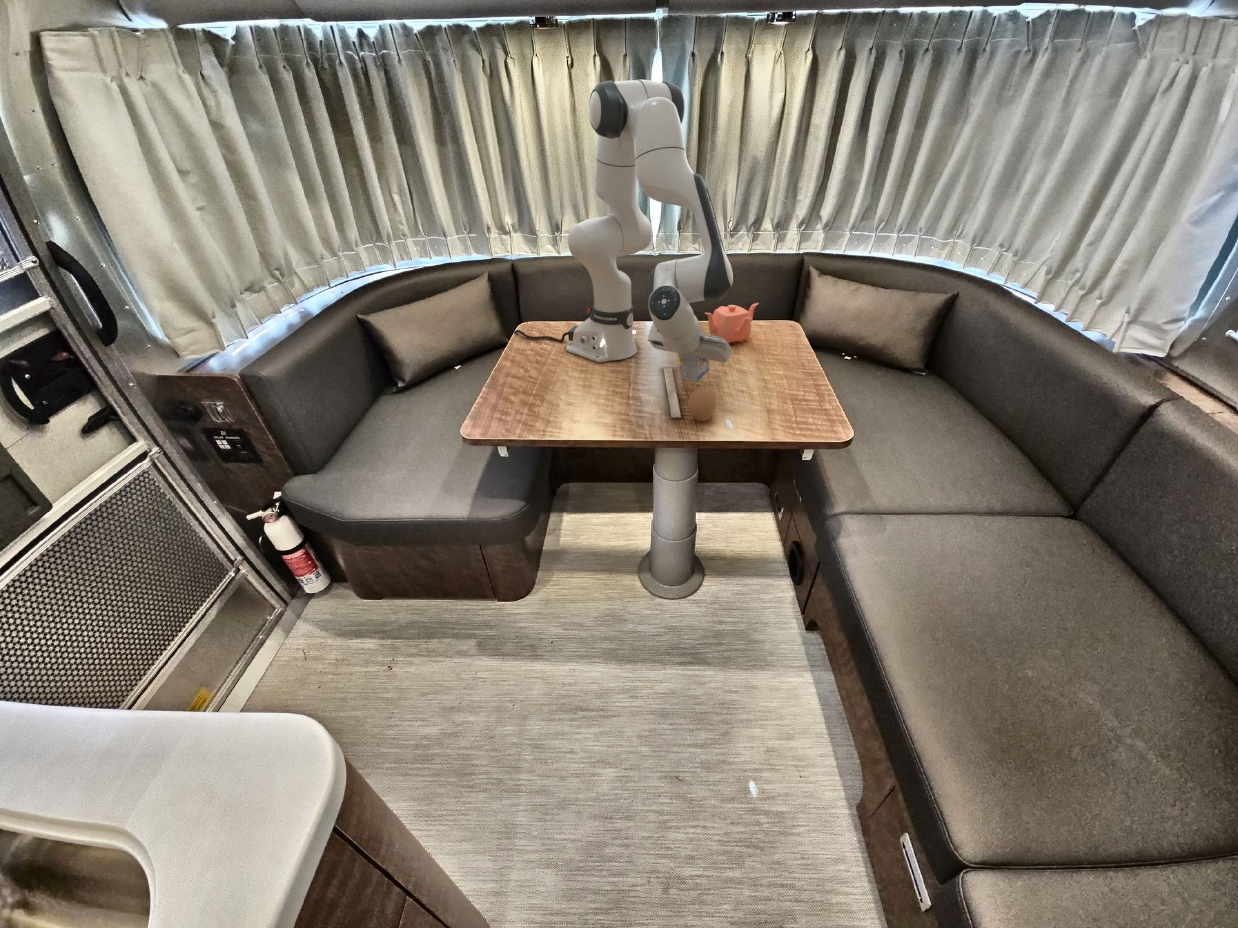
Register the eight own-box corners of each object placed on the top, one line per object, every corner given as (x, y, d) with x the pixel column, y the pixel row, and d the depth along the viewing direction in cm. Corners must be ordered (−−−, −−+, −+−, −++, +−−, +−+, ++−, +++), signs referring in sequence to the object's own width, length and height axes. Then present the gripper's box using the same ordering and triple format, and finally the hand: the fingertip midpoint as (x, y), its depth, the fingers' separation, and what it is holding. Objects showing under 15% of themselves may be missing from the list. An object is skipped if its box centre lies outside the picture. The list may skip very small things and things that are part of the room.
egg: (699, 410, 135) (701, 377, 130) (720, 419, 131) (723, 386, 126) (681, 419, 131) (683, 386, 126) (702, 429, 127) (705, 395, 122)
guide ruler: (671, 418, 132) (671, 417, 132) (663, 369, 155) (663, 368, 155) (681, 418, 132) (681, 417, 132) (671, 369, 155) (671, 368, 155)
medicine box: (696, 383, 137) (698, 351, 132) (681, 379, 139) (682, 348, 134) (709, 371, 142) (711, 340, 137) (694, 368, 144) (696, 337, 139)
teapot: (754, 333, 175) (759, 300, 169) (747, 350, 164) (751, 316, 158) (711, 328, 179) (714, 296, 173) (701, 344, 169) (703, 310, 162)
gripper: (729, 329, 122) (739, 353, 134) (649, 315, 130) (666, 339, 143) (720, 354, 121) (731, 376, 134) (641, 339, 130) (658, 361, 142)
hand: (697, 357), depth 138 cm, fingers closed on medicine box, 4 cm apart
